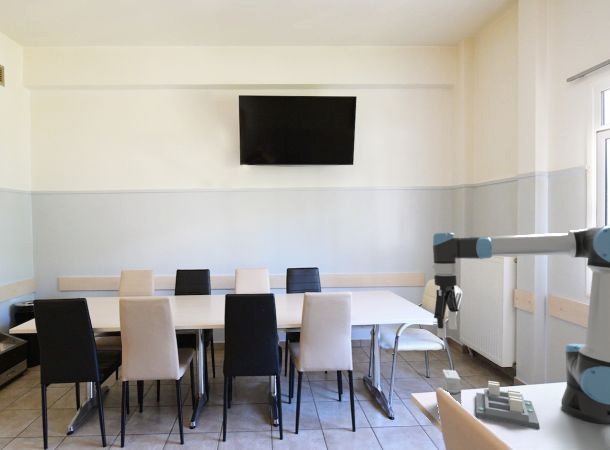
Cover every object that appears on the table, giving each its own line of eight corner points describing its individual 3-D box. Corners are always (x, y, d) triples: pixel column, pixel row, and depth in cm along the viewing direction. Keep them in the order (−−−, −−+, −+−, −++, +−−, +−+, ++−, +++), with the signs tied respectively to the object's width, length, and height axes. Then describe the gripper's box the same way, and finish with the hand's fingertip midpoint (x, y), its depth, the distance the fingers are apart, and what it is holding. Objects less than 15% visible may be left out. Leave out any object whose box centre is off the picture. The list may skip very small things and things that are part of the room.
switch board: (531, 405, 129) (531, 395, 129) (539, 428, 114) (538, 417, 114) (476, 396, 137) (476, 387, 137) (476, 416, 121) (476, 406, 122)
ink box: (462, 413, 124) (461, 378, 125) (447, 411, 125) (446, 377, 126) (456, 401, 133) (455, 369, 133) (442, 400, 134) (442, 369, 134)
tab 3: (521, 414, 120) (521, 397, 120) (523, 418, 117) (522, 401, 117) (509, 411, 121) (509, 395, 122) (510, 416, 118) (510, 399, 119)
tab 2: (519, 406, 125) (519, 390, 125) (521, 411, 122) (520, 394, 122) (508, 405, 126) (507, 388, 126) (509, 409, 123) (508, 392, 124)
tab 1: (499, 397, 132) (498, 382, 133) (499, 401, 129) (499, 385, 130) (488, 395, 134) (488, 380, 134) (489, 399, 131) (488, 383, 131)
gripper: (444, 271, 144) (446, 324, 143) (423, 277, 124) (425, 339, 123) (464, 272, 139) (466, 327, 138) (445, 278, 119) (448, 342, 118)
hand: (447, 333), depth 131 cm, fingers open, 13 cm apart
